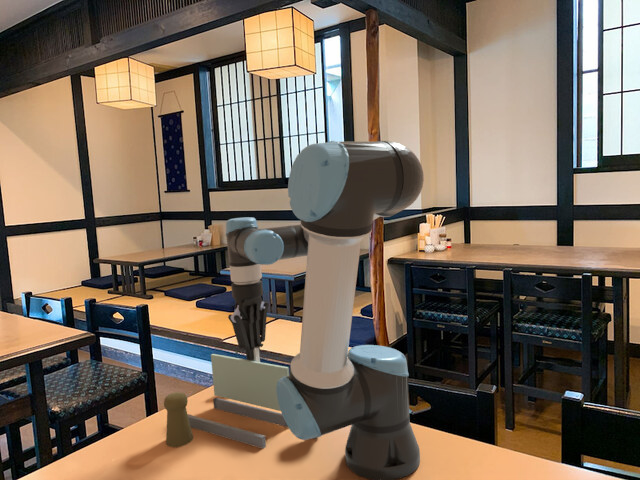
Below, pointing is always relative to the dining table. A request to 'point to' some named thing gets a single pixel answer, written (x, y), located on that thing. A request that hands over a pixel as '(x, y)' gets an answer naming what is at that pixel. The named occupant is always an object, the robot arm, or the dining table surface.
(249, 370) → the lid
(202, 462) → the dining table surface
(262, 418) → the gray parallel rails
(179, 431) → the olive pepper mill
